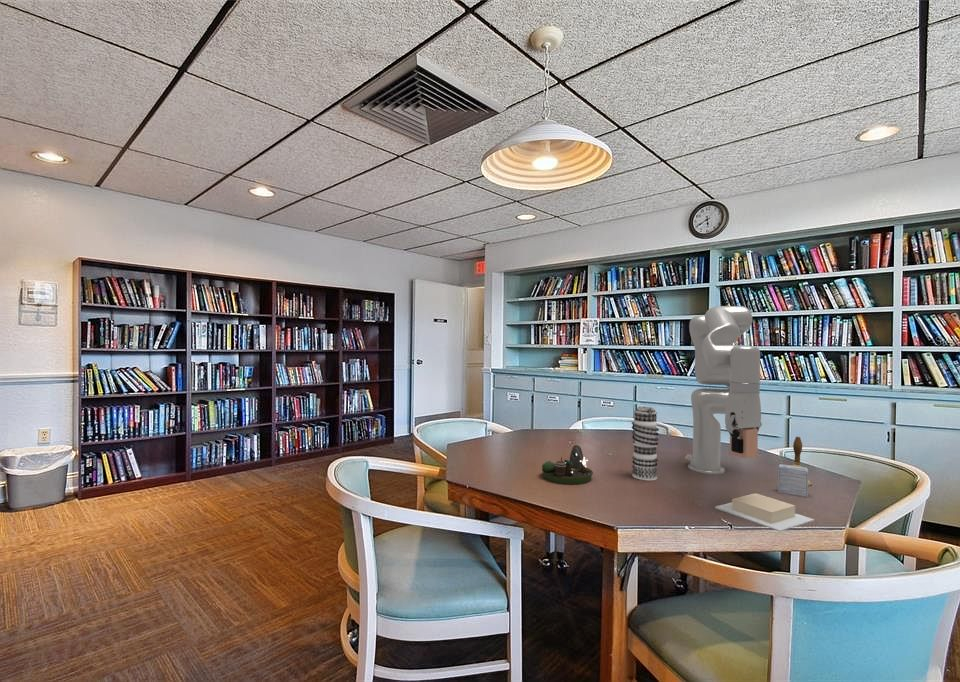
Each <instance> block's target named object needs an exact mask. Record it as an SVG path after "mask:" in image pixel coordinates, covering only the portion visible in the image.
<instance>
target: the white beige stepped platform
mask: <svg viewBox="0 0 960 682" xmlns="http://www.w3.org/2000/svg"><path fill="white" fill-rule="evenodd" d="M714 508H715V509H716V510H720V511H722V512H723V513H724V512H725V513H727V514H731V515H733V516H736V517H738V518H741V519H745V520H747V521H750V522H751V523H755V524H758V525H761V526H764V527H767V528H770V529H772V530H775V531H779V532H782V531H786V530H789V529H791V528H796V527H798V526H803V525H806V524H808V522H809V523H812V522H814V521H815V519H814V518H811V517H808V516H806V515H805V516H804V515H803V514H800V513H799V514H798V513H796V505H794V504H792V503H788V502H785V501H782V500H779V499H776V498H772V497H769V496H766V495H763V494H759V493H756V492H754V493H751V494H747V495H743V496H739V497H738V496H737V497H735V498H732V501H731V502H729V503H728V502H727V503H725V504H720V505H716V506H715V507H714Z"/></svg>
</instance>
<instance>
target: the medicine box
mask: <svg viewBox="0 0 960 682" xmlns="http://www.w3.org/2000/svg"><path fill="white" fill-rule="evenodd" d="M777 473H778V476H777V477H778V480H777V482H778V484H777V485H778V487H777V493H779V494H784V495H790V496H791V495H792V496H797V497H804V498H808V497H809V486H808V480H809V469H808V468H807V467H803V466H802V467H797V466H791V465H789V464H781V463H780V464H778V471H777Z"/></svg>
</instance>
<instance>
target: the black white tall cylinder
mask: <svg viewBox="0 0 960 682" xmlns="http://www.w3.org/2000/svg"><path fill="white" fill-rule="evenodd" d="M633 412H634V414H633V415H634V416H633V418H634V419H633V421H632V422H631V424H632V426H631V429H632V432H631V434H632V435H631V438H632V439H633V440H632V445H633V452H632V455H633V456H632V459H633V460H632V461H631V462H632V464H633V465H631V468H632V470H631V472H632V474H631V475H632V477H633V478H634V479H638V480H640V481H656V480H657V479H658V474H659V473H658V472H657V471H658V470H659V469H658V467H657V466H658V465H659V464H658V463H657V462H658V458H657V457H658V456H657V447H658V444H659V443H658V441H659V438H658V437H657V436H659V435H660V433H659V430H660V429H659V428H658V427H657V425H658V421H657V414H658V412H657V411H656V410H655V408H654V407H651V406H638V407H637V408H636V409H635V410H634V411H633Z"/></svg>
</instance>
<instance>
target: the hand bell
mask: <svg viewBox="0 0 960 682" xmlns="http://www.w3.org/2000/svg"><path fill="white" fill-rule="evenodd" d="M792 448H793V452H794V461H793V464H791V465H790V466H797V467H803V466H802V465H801V453H802V451H803V442H802V440H801V437H800V436H795V439H794V440H793V445H792ZM811 485H812V482H811V481H810V480H809V479H808V487H809V486H811Z"/></svg>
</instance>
